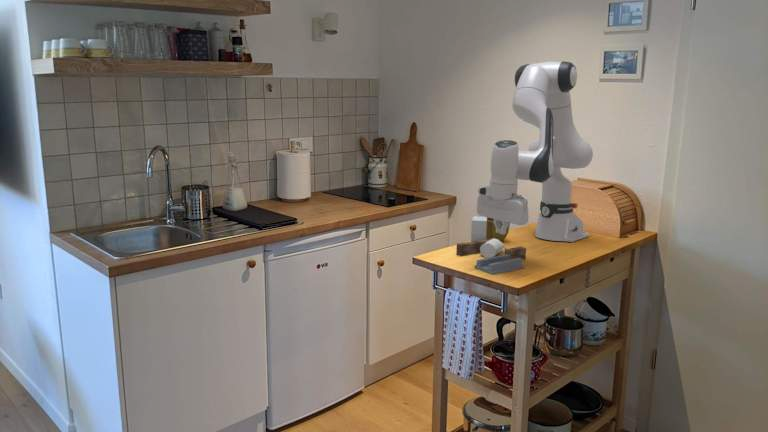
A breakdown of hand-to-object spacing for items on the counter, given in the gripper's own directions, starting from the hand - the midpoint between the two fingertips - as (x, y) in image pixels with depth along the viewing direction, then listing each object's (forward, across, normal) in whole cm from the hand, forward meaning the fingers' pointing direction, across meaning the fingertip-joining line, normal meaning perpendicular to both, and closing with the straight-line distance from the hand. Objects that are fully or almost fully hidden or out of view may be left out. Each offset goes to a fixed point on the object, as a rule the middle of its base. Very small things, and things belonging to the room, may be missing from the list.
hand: (500, 233), depth 200 cm
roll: (+12, +14, -12) cm, 22 cm away
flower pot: (+12, +28, -25) cm, 40 cm away
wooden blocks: (+12, +19, -7) cm, 23 cm away
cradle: (+12, 0, 0) cm, 12 cm away
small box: (+12, +26, -15) cm, 32 cm away
